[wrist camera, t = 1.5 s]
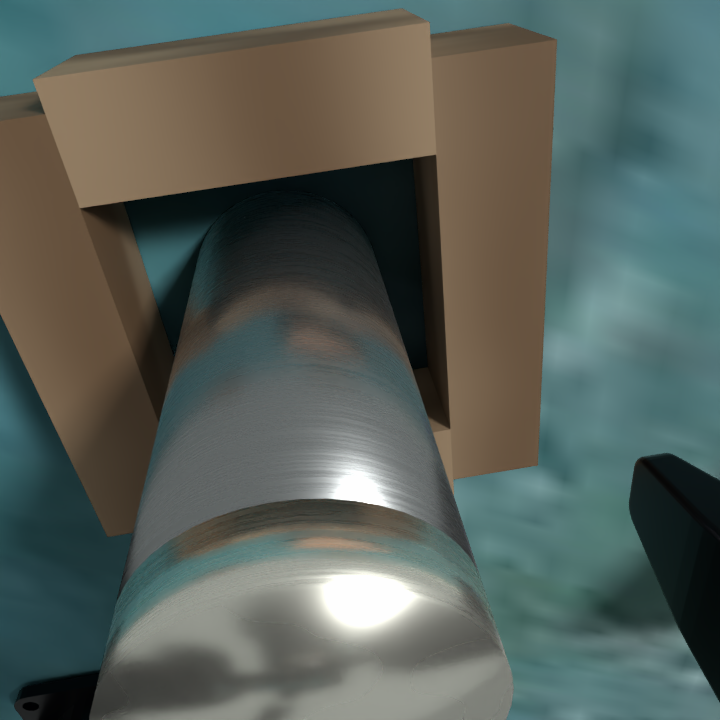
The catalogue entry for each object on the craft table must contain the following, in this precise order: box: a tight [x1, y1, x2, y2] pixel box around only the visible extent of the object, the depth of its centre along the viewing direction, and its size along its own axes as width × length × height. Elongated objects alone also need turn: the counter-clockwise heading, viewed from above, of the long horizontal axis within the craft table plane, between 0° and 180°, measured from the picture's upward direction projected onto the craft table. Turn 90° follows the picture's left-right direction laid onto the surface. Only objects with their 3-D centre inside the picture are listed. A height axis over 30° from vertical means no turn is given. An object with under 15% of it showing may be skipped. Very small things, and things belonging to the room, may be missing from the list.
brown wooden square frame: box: [0, 9, 557, 537], centre depth 14 cm, size 10×10×2 cm
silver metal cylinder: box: [89, 190, 513, 720], centre depth 10 cm, size 4×4×10 cm
